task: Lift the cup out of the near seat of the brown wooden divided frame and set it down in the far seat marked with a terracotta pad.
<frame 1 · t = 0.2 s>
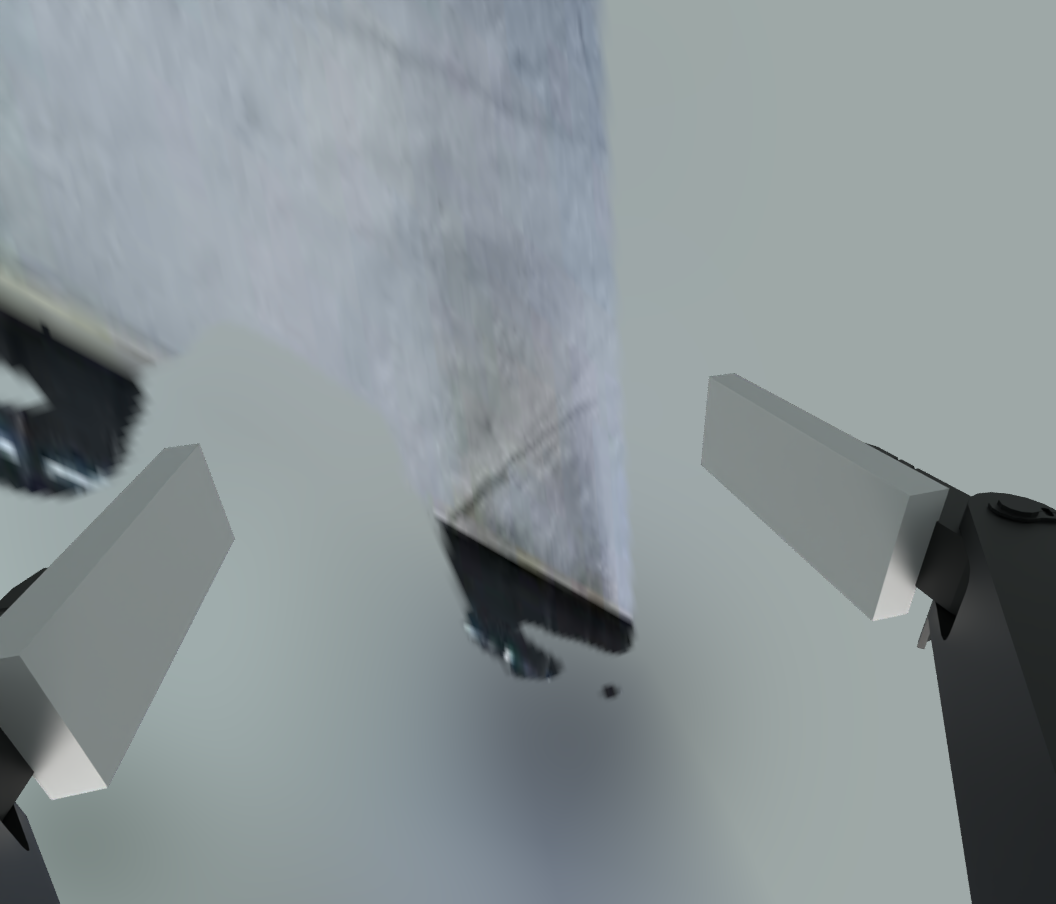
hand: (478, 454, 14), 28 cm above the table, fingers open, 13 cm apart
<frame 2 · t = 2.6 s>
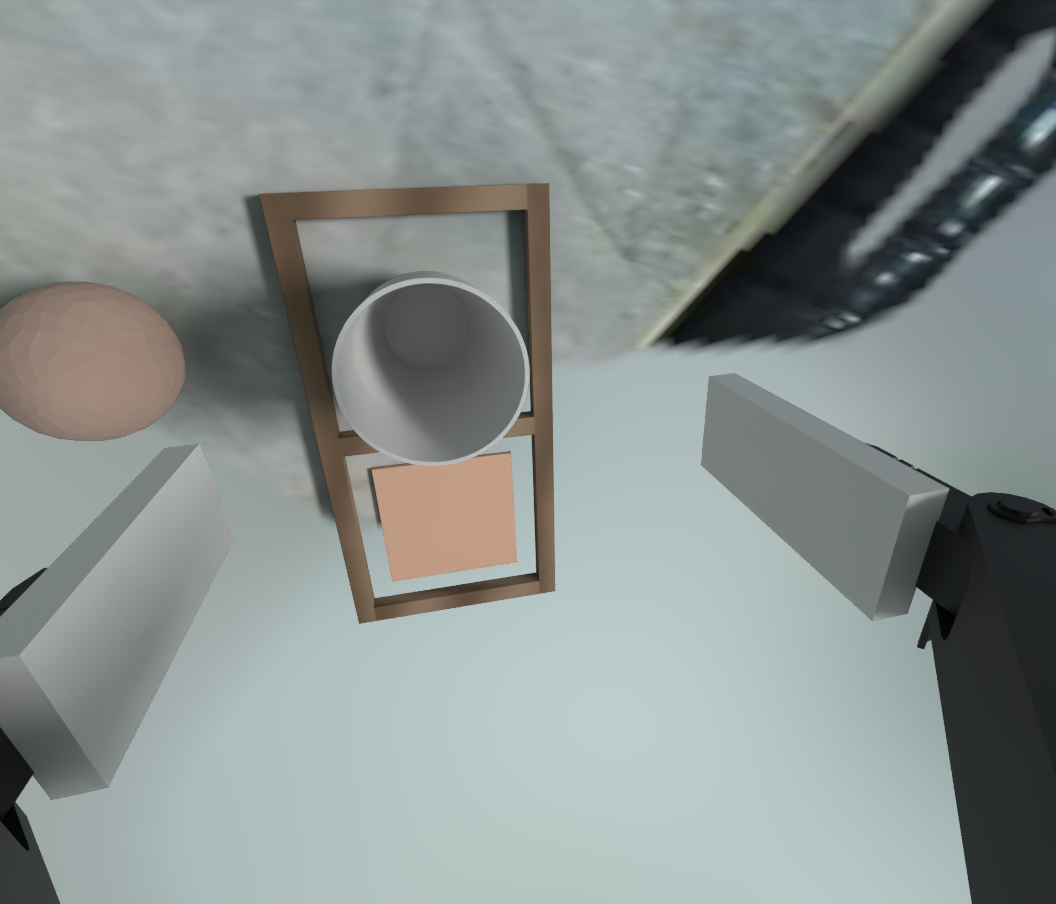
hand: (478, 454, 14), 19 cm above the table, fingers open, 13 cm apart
egg: (133, 341, 28), on the table
brown wooden divided frame: (439, 430, 34), on the table
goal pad: (449, 517, 37), resting in brown wooden divided frame
cup: (426, 325, 31), resting in brown wooden divided frame
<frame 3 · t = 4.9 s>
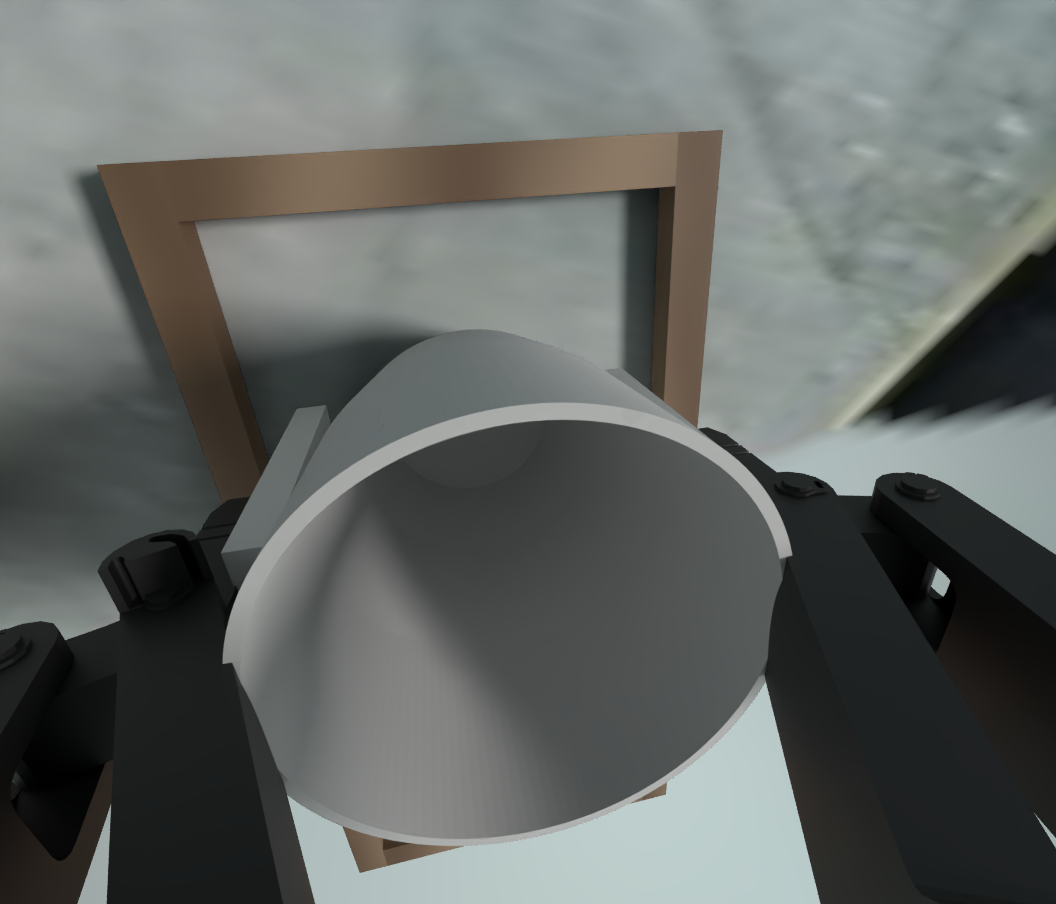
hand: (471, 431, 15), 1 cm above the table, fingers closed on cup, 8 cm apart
brown wooden divided frame: (488, 583, 19), on the table
cup: (467, 414, 17), resting in brown wooden divided frame, touching gripper
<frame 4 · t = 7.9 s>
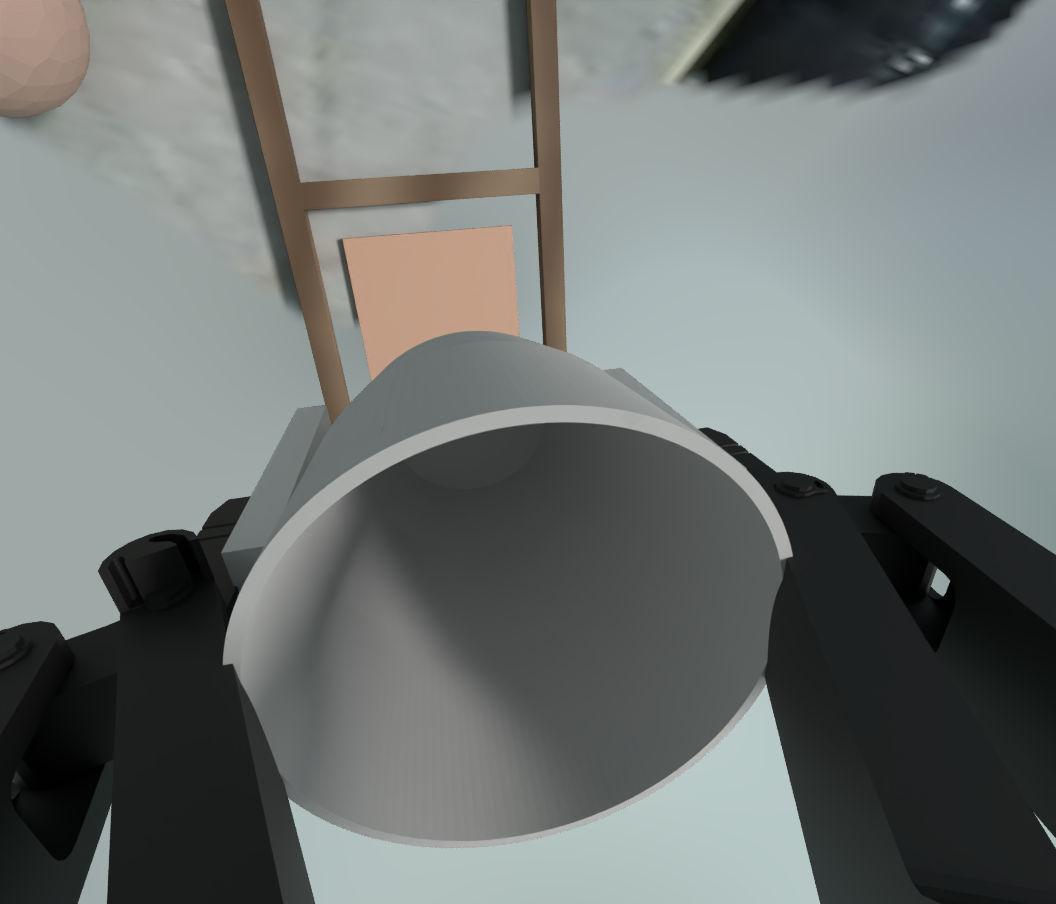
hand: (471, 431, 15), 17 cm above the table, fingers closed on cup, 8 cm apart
egg: (29, 29, 23), on the table
brown wooden divided frame: (423, 188, 28), on the table
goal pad: (440, 315, 31), resting in brown wooden divided frame
cup: (467, 415, 17), point 16 cm above the table, touching gripper
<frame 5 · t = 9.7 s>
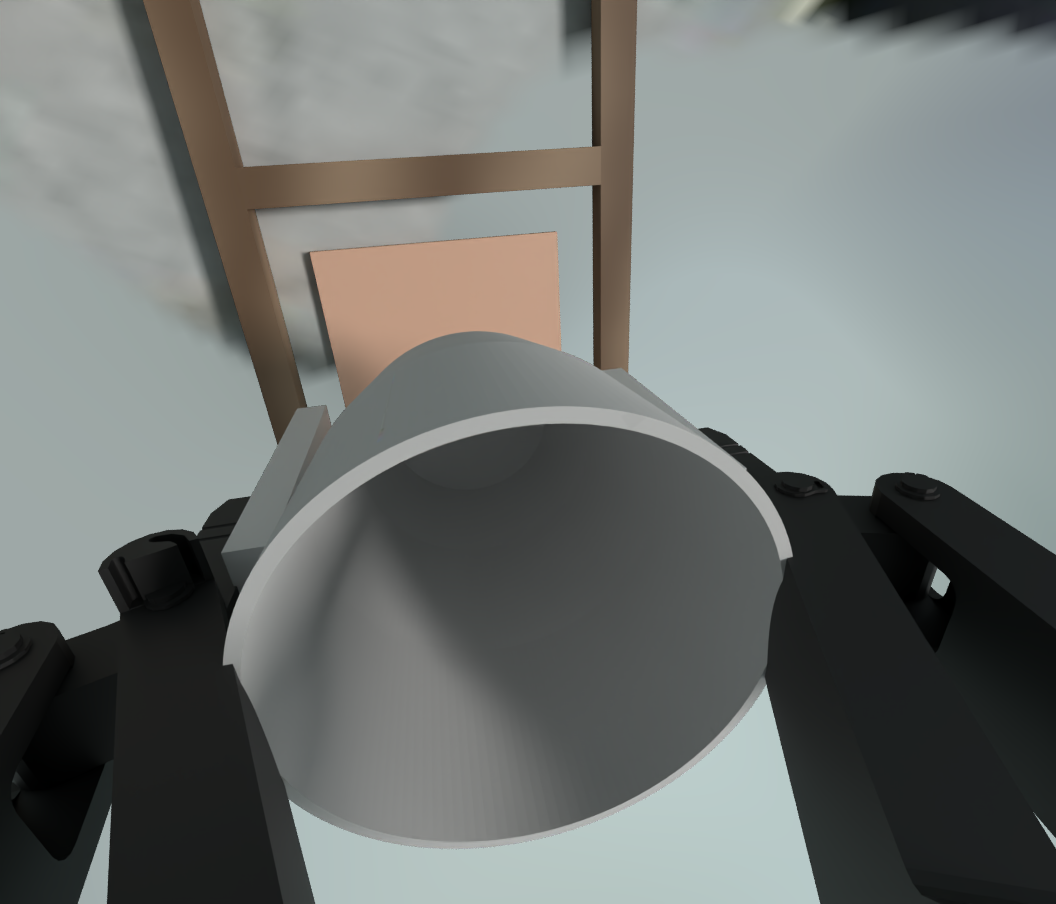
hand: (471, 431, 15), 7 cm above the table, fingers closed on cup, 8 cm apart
brown wooden divided frame: (429, 177, 19), on the table
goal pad: (452, 359, 22), resting in brown wooden divided frame
cup: (467, 415, 17), point 6 cm above the table, touching gripper
when the fingers open (3 cm above the table, at t = 11.1 s): cup drops 1 cm, resting on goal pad.
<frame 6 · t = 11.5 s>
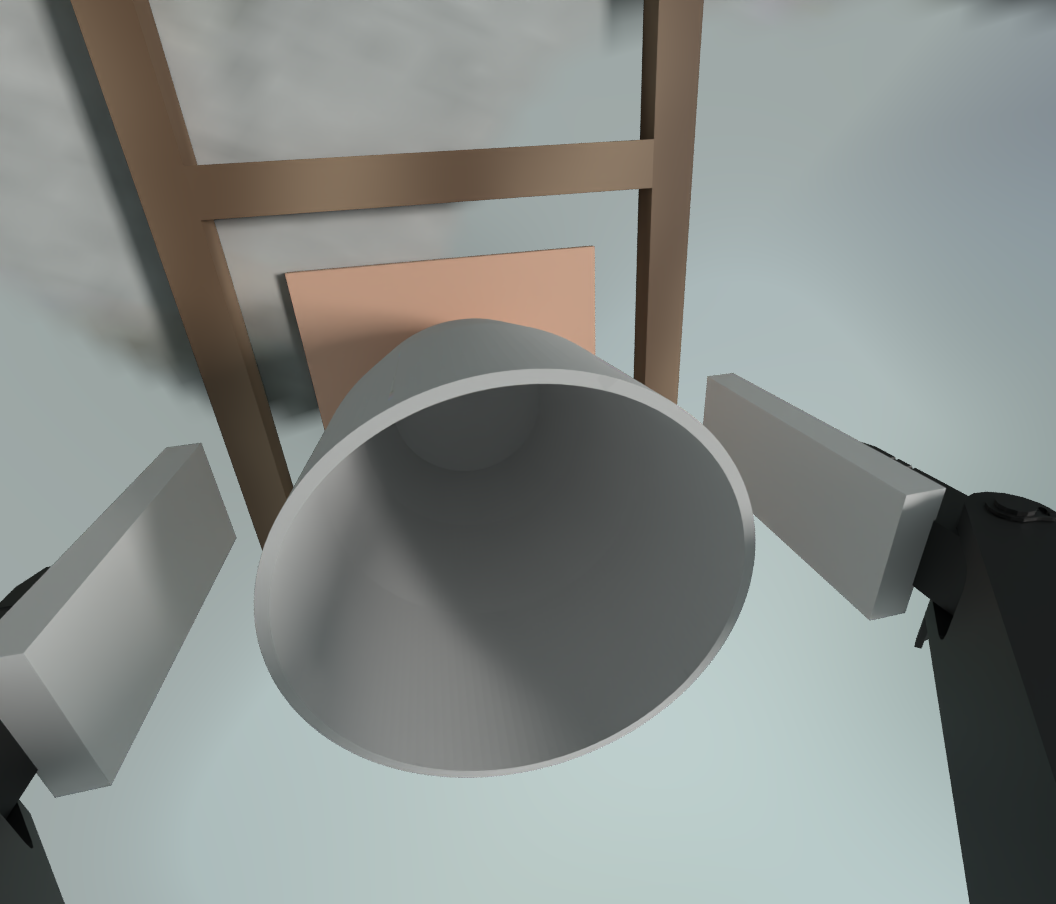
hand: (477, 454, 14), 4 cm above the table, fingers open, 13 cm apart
brown wooden divided frame: (436, 179, 15), on the table
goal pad: (463, 400, 18), resting in brown wooden divided frame
cup: (466, 400, 18), resting on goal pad
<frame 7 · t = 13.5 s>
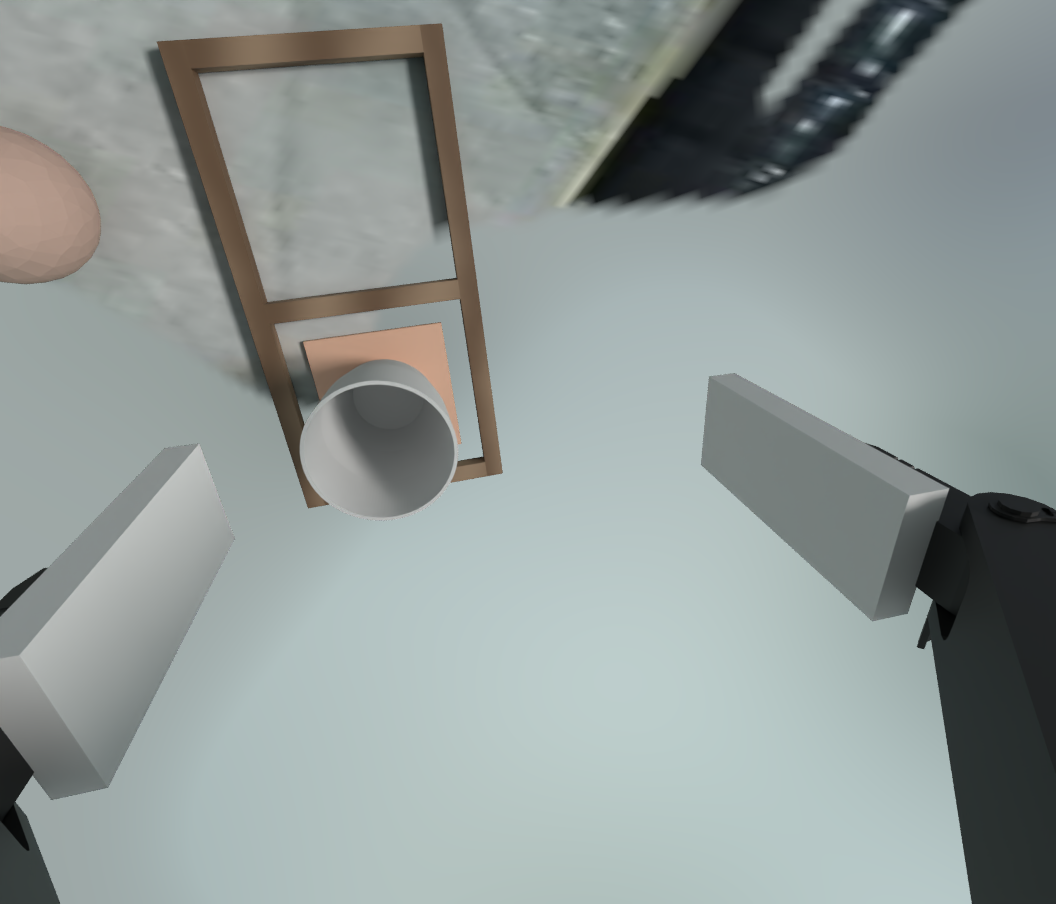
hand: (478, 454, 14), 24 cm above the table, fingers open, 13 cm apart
egg: (55, 207, 30), on the table
brown wooden divided frame: (366, 299, 35), on the table
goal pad: (387, 395, 37), resting in brown wooden divided frame
cup: (388, 394, 37), resting on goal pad
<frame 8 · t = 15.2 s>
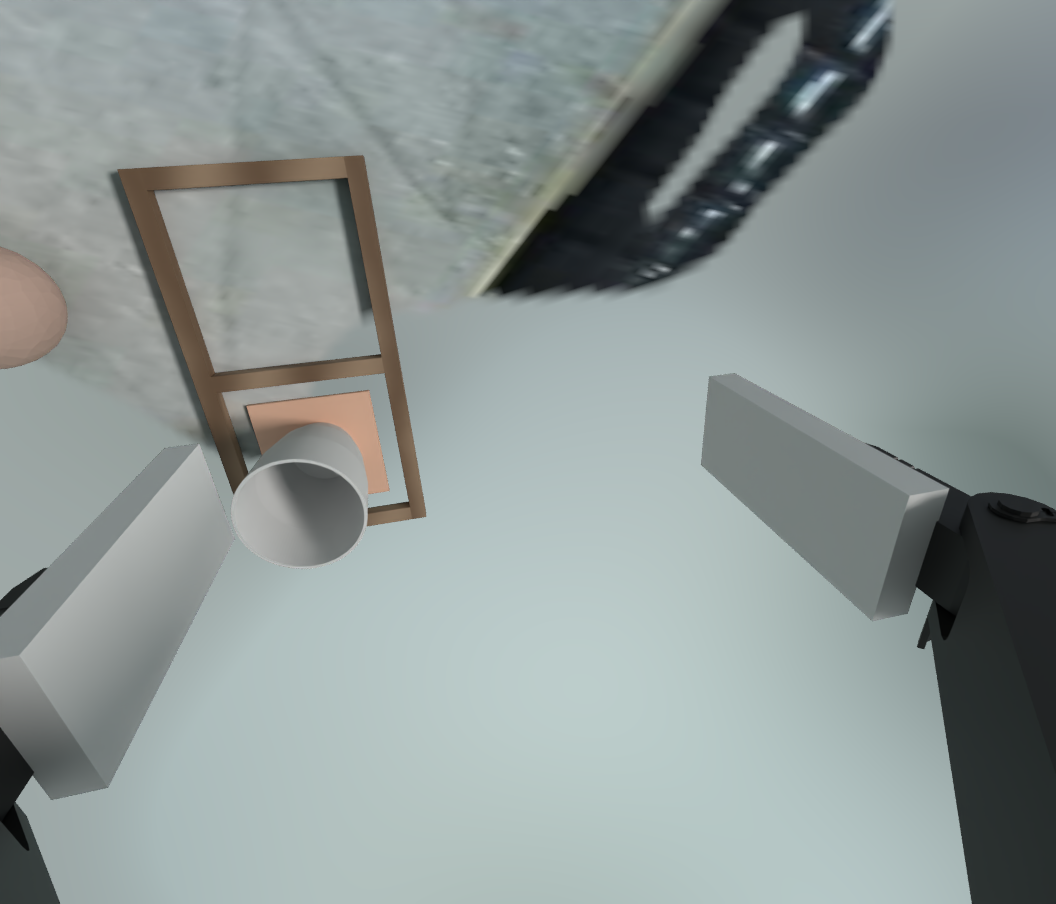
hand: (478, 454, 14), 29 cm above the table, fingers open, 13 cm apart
egg: (29, 295, 35), on the table
brown wooden divided frame: (302, 371, 40), on the table
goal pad: (322, 449, 43), resting in brown wooden divided frame
cup: (323, 449, 43), resting on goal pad
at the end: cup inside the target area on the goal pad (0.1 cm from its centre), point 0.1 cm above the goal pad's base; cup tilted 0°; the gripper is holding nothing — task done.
